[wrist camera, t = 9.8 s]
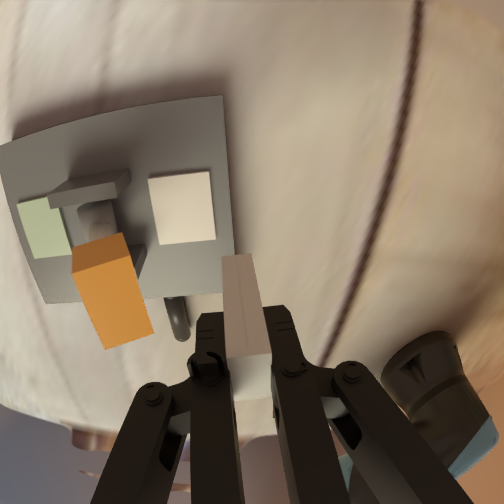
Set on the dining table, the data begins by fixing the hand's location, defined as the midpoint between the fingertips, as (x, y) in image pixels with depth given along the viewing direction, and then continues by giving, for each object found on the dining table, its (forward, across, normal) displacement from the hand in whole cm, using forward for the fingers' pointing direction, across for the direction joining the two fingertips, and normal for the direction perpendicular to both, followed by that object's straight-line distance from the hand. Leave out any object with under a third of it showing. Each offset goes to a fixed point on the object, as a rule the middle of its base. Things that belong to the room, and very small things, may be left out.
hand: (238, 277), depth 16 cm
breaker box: (+14, +11, +4) cm, 18 cm away
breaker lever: (+10, +11, 0) cm, 15 cm away
